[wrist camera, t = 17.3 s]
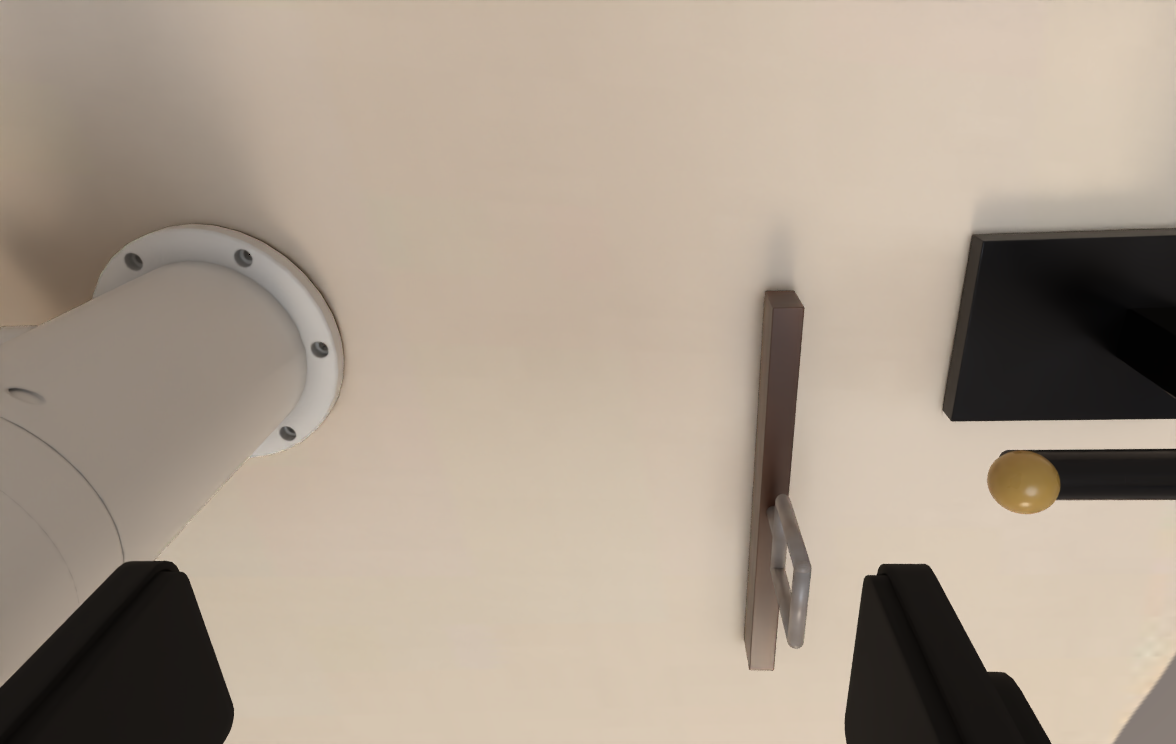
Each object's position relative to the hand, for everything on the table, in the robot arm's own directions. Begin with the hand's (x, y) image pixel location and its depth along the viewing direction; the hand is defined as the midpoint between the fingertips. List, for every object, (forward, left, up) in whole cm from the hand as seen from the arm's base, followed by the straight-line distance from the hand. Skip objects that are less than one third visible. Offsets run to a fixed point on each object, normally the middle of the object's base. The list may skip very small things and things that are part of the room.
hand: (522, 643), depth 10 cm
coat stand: (+20, -6, -26) cm, 34 cm away
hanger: (+8, -15, -26) cm, 31 cm away
